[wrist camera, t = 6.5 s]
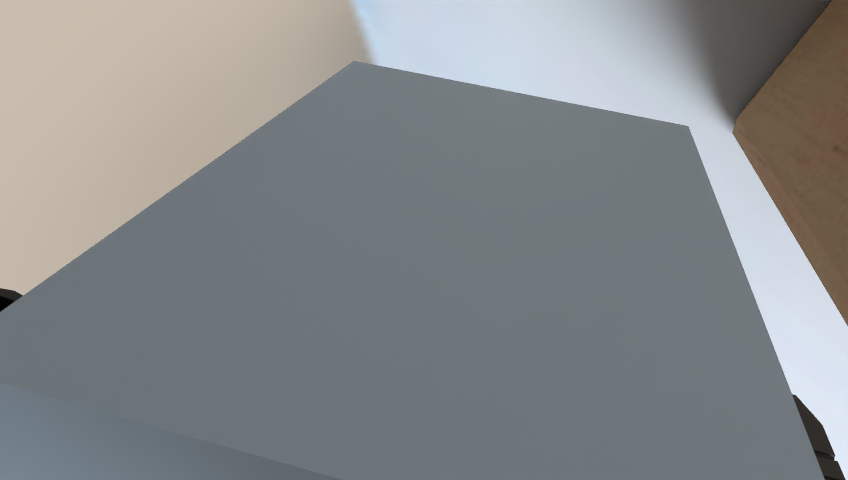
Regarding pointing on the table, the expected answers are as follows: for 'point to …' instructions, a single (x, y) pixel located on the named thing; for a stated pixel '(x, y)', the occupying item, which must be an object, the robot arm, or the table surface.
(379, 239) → the slate blue block
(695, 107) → the table surface
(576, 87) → the table surface
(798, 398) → the robot arm
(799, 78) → the wooden block
